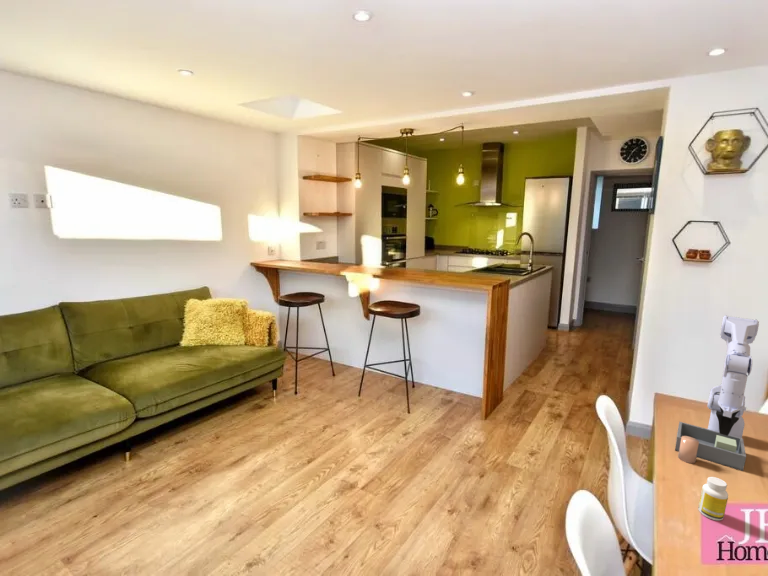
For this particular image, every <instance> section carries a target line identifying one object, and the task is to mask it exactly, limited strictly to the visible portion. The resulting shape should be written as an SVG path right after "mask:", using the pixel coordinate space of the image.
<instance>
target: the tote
mask: <svg viewBox="0 0 768 576" xmlns="http://www.w3.org/2000/svg"><path fill="white" fill-rule="evenodd" d="M678 422H679V423H678V427H677V434H676V439H675V440H676V441H675V448H674V451H676V452H679V448H680V443H681V437H682V436H689V437H692V438H695V439H697V440H698V441H699V445H698V450H697V456H696V458H699V459H701V460H706V461H708V462H711V463H716V464H719V465H722V466H725V467H728V468H731V469H734V470H739V471H741V472H744V468H745V464H746V459H747V454H746V449H745V443H744V438H743V437H742V438H739V437H735V436H731V435H728V436H726V435H723V434H720V432H717V431H713V430H709V429H708V428H705V427H701V426H697V425H694V424H691V423H687V422H683V421H680V420H679V421H678ZM716 435H719V436H723V437H726V438H730V439H734V440H736V445H737V448H736V453H735V452H731V451H728V450H724V449H721V448H717V447H714V446H715V440H716Z"/></svg>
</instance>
